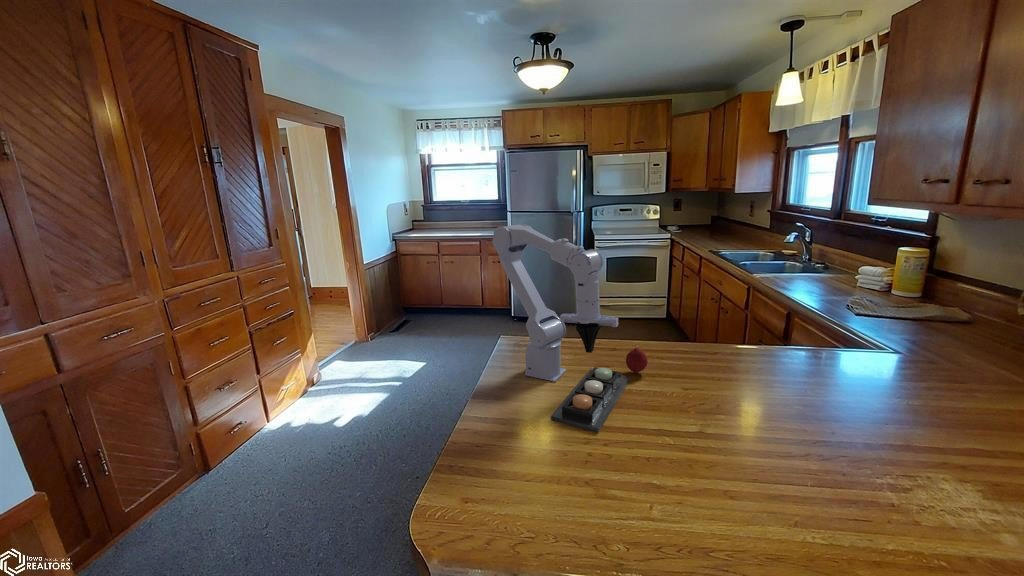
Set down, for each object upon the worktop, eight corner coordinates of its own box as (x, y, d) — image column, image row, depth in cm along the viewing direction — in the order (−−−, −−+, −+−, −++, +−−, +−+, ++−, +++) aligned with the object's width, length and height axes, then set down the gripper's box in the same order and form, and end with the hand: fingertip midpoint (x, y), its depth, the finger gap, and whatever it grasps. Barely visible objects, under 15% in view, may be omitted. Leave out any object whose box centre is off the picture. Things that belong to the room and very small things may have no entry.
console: (550, 420, 93) (550, 408, 92) (590, 373, 116) (590, 363, 115) (598, 433, 88) (598, 420, 87) (629, 380, 111) (629, 370, 110)
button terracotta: (570, 411, 94) (570, 401, 93) (576, 402, 98) (576, 392, 97) (588, 415, 92) (588, 405, 91) (594, 406, 96) (594, 396, 95)
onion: (648, 378, 112) (649, 350, 110) (626, 377, 113) (627, 349, 111) (645, 369, 117) (647, 342, 115) (624, 368, 118) (625, 342, 116)
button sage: (592, 382, 108) (592, 373, 107) (597, 375, 111) (598, 366, 111) (609, 385, 105) (609, 376, 105) (613, 378, 109) (614, 369, 109)
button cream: (582, 395, 101) (582, 386, 100) (588, 387, 104) (588, 378, 104) (599, 399, 99) (599, 390, 98) (605, 391, 102) (605, 382, 102)
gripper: (554, 301, 102) (557, 353, 105) (612, 305, 95) (613, 360, 98) (565, 295, 108) (567, 344, 111) (620, 298, 101) (621, 350, 104)
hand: (589, 351), depth 105 cm, fingers closed
